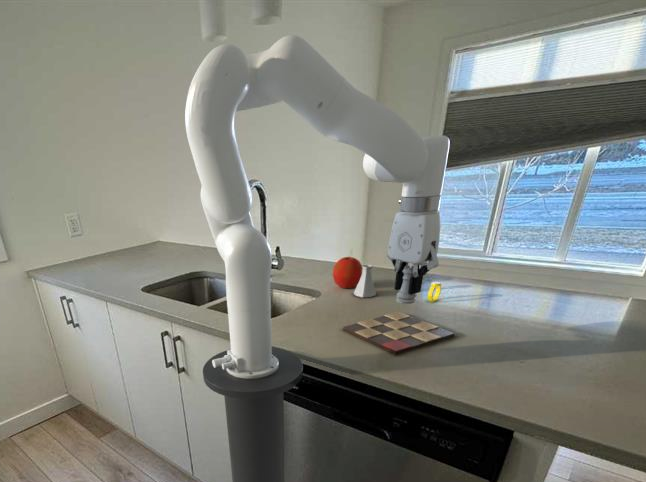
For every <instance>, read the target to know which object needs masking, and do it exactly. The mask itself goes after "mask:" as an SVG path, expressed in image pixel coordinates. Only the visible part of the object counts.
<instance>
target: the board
mask: <svg viewBox="0 0 646 482" xmlns="http://www.w3.org/2000/svg"><path fill="white" fill-rule="evenodd" d="M342 330H343V331H344V332H346V333H348V334H351V336H354V337H356V338H358V339H360V340H363V341H365V342H367V343H369V344H371V345H373V346H375V347H378V348H379V349H381V350H383V351H385V352H388V353H390V354H392V355H394V356H397V355H400V354H404V353H407V352H410V351H414V350H417V349H420V348H423V347H426V346H430V345H433V344H436V343H439V342H443V341H445V340H448V339H451V338H454V337H455V335H456V332H453V331H450V330H447V329H444V328H442V327H440V326H439V325H436V324H433V323H430V322H426V321H425V320H424V321H422V320H419V319H417V318H414V317H412V316H410V315H408V314H405V313H403V312H399V311H394V312H390V313H387V314H384V315H382V316H379V317H378V316H377V317H375V318H369V319H365V320H361V321H357V322H356V323H352V324H349V325H346V326H343V327H342Z"/></svg>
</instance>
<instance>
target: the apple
mask: <svg viewBox="0 0 646 482" xmlns="http://www.w3.org/2000/svg"><path fill="white" fill-rule="evenodd" d="M362 266H363V265H362V263H361V261H360V260H359V259H357V258H356V257H352V256H350V255H348V256H344V257H341V258H340V259H339V260H337V261H336V263H335V264H334V265H333V271H332V277H333V281H334V284H336V285H337V286H338V287H339V288H342V289H353V288H355V287H357V285H358V283H359V281H360V278H361V276H362V272H363V268H362Z"/></svg>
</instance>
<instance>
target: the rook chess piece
mask: <svg viewBox="0 0 646 482" xmlns="http://www.w3.org/2000/svg"><path fill="white" fill-rule="evenodd" d="M402 272H403V273H404V276H403V283H402V287H401V289H400V290H398V292H397V293H396V298H395V300H396V302H397V303H398V304H404V305H410V304H415V302H416V301H417V293H415V294H408V289H409V282H410V277H412V276H413V264H412V265H411V266H410V265H409V264H408V266H405V268H404V270H403V271H402Z"/></svg>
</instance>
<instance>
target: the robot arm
mask: <svg viewBox="0 0 646 482" xmlns="http://www.w3.org/2000/svg"><path fill="white" fill-rule="evenodd" d="M281 102H284V103H285V104H287V105H288V106H289V107H290V108H291V109H292V110H294V111H295V112H296V113H297V114H298V115H299V116H300V117H302V119H304V120H305V121H306V122H307V123H308V124H309V125H311V126H312V127H313V128H314V129H315V130H316V131H317V132H318V133H319V134H321V135H323V136H324V137H326V138H328V139H330V140H332V141H335V142H337V143H338V142H339V143H342V144H346V145H349V146H351V147H354V148H356V149H358V150H359V151H361V152H363V153H364V156H363V158H362V159H363V160H362V168H363V171H364V174H365V175H366V176H367V177H368V178H369V179H371V180H373V181H375V182H383V183H396V184H397V183H399V184H402V188H401V189H402V190H401V197H400V198H399V200H398V204H399V211H397V212H396V213H395V216H394V219H393V222H392V226H391V231H390V236H389V240H388V248H387V258H388V259H389V260H390V261H391V263H392V265H393V267H394V268H393V270H394V272H395V281H394V287H393V289H394V290H395V291H399V290H400V289H401V287H402V283H403V276H404V273H403V272H402V271H403V270H404V268H405V266H408V265H409V264H412V265H413V276H412V277H410V282H409V289H408V294H415V293H416V294H419V293H421V291H422V286H423V280H424V276H426V275H427V273H429V272H430V271H431V270H434V269H435V268H438V267H439V266H440V263H439V259H438V256H437V255H438V252H439V245H440V238H441V212H440V205H441V200H442V199H441V198H442V193H443V186H444V180H445V175H446V169H447V163H448V156H449V150H450V145H451V144H450V138H449V137H448V136H447V135H443V134H441V135H429V136H428V135H427V136H421V135H420V133H418V132H417V130H416V129H414V127H413V126H411V125H410V124H409V123H408V122H407V121H406V120H405V119H404V118H403V117H402V116H401V115H399V114H398V113H397V112H395V111H393V109H391V108H389V107H387V106H386V105H384V104H382V103H380V102H379V101H377V100H375V99H374V98H373V97H371V96H369V95H368V94H366V93H363V92H362V91H359V90H358V89H357V88H356V87H354V86H353V85H352V84H351V83H350V82H349V81H348V80H347V79H346V78H345V77H344V75H343V76H342V75H341V73H340V72H339V71H338V70H336V69H335V67H333V66H332V64H331V63H330V62H328V61H327V60H326V59H325V58H324V57H323V56H322V55H321V53H319V52H318V51H317V50H316V49H315V48H314V47H313V46H312V45H311V44H310V43H308V41H306V40H305V39H304V38H302V37H300V36H299V35H295V34H289V35H285V36H283V37H281V38H280V39H277V41H276V42H274V43H273V44H272V45H271V46H270V47H269V48H268V49H266V50H261V51H259V52H255V53H250V54H245V53H244V52H243V51H242V49H241V48H239V47H238V46H236V45H234V44H232V43H231V44H230V43H223V44H219V45H217V46H216V47H214V48H212V49H211V50H210V51H209V52H208V53H207V54H206V56H205V57H204V59H203V60H202V61H201V63H200V64H199V65H198V67H197V70H196V71H195V73H194V76H193V77H192V79H191V82H190V85H189V87H188V92H187V96H186V102H185V112H184V123H185V132H186V137H187V142H188V145H189V149H190V152H191V155H192V159H193V162H194V166H195V169H196V173H197V175H198V179H199V181H200V186H201V188H200V195H199V196H200V202H201V206H202V208H203V213H204V215H205V218H206V221H207V224H208V227H209V230H210V233H211V236H212V238H213V241H214V243H215V246H216V249H217V252H218V254H219V256H220V257H221V259H222V261H223V263H224V268H225V269H224V270H225V292H226V294H225V295H226V307H227V317H228V318H227V319H228V329H229V340H230V341H229V344H230V349H231V350H230V349H227V350H228V351H227V355H225V356H224V357H223V358H218V359H214V360H212V364H213V367H214V368H216V367H220V366H222V369H223V370H224V369H226V370H227V372H228V373H229V374H231V375H233V376H235V377H238V378H244V379H256V378H262V377H266V376H268V375H271V374H272V373H274V372H275V371H276V370H277V369H278V366H279V362H278V359H277V358H276V357H275V356H273V355H272V347H273V346H272V345H273V344H272V311H271V310H272V309H271V274H272V265H273V263H272V262H273V256H272V255H273V253H272V249H271V245H270V242H269V240H268V239H267V237H266V235H265V234H264V233H262V232H261V231H260V230H259V229H257V228H255V225H254V222H253V218H252V215H251V209H252V205H253V192H252V188H251V185H250V182H249V180H248V177H247V173H246V170H245V167H244V163H243V160H242V157H241V154H240V149H239V144H238V141H237V136H236V130H235V118H236V117H235V116H236V112H241V111H247V110H252V109H257V108H261V107H267V106H269V105H270V106H271V105H274V104H277V103H281Z"/></svg>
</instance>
